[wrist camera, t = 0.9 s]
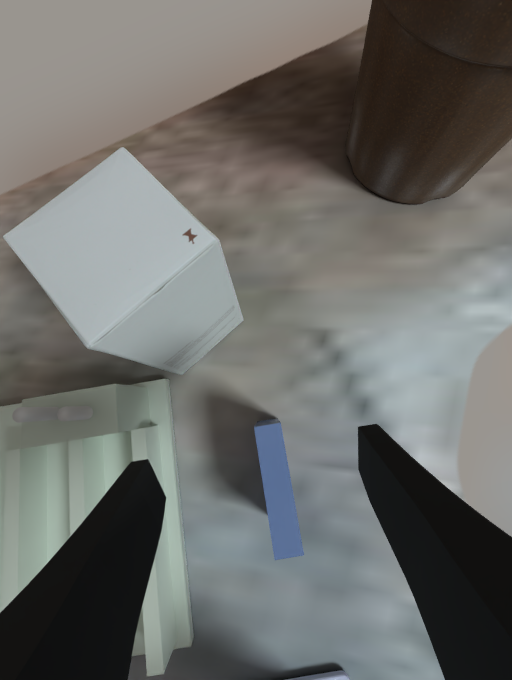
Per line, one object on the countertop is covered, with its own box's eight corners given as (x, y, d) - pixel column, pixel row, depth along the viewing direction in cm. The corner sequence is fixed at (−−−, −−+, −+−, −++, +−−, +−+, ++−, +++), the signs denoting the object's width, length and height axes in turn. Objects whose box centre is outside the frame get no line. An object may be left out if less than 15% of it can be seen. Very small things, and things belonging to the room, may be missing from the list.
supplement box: (192, 263, 26) (125, 138, 14) (246, 321, 25) (225, 239, 12) (127, 315, 25) (-6, 232, 13) (179, 378, 24) (86, 352, 12)
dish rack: (194, 637, 20) (142, 799, 12) (-33, 674, 20) (-242, 863, 12) (169, 379, 24) (117, 366, 16) (-21, 411, 24) (-170, 415, 16)
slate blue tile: (294, 514, 21) (303, 555, 16) (272, 517, 21) (274, 560, 16) (277, 417, 23) (280, 422, 17) (257, 421, 23) (254, 427, 17)
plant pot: (297, 195, 27) (338, -89, 12) (350, 69, 30) (439, -291, 15) (472, 249, 25) (804, -2, 10) (509, 109, 28) (809, -255, 13)
